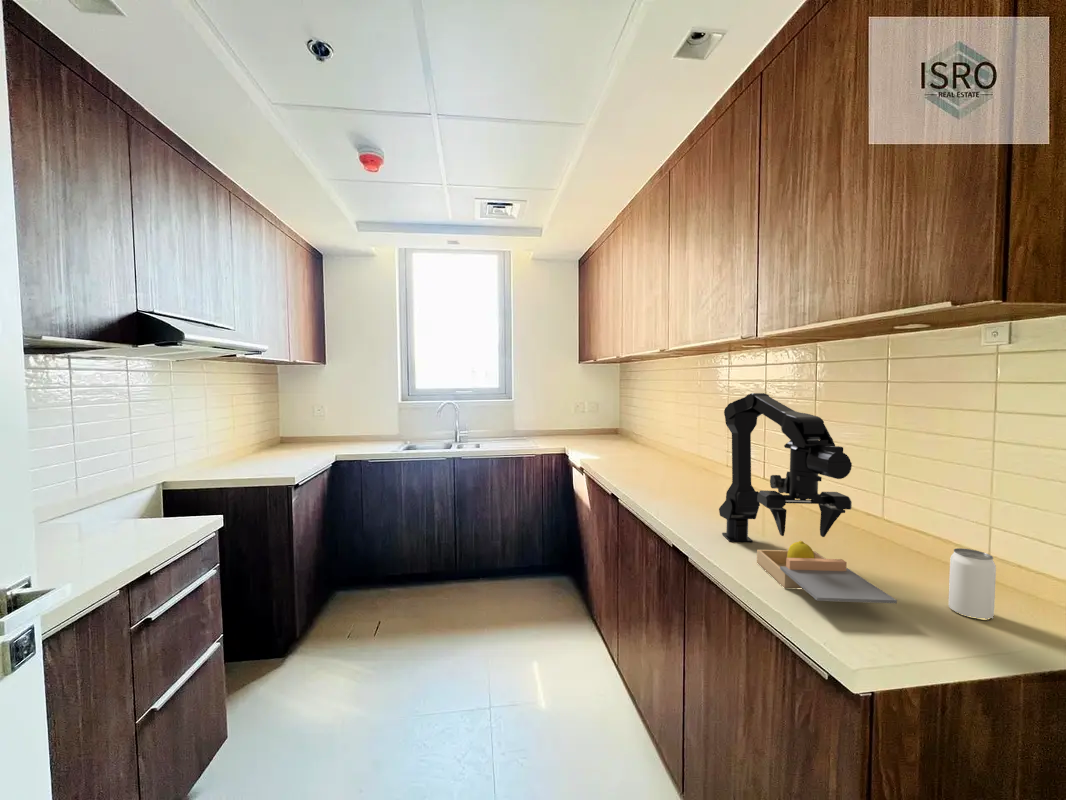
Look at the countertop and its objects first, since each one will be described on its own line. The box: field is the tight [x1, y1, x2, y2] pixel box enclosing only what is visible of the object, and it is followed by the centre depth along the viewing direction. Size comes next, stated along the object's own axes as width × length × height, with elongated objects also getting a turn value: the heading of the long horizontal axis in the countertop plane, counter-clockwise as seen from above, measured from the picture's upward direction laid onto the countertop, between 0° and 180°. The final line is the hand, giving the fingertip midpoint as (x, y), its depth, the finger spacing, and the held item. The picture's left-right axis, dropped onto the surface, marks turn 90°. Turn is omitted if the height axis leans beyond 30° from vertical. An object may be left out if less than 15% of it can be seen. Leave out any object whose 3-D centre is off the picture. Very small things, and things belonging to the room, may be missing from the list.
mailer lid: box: [780, 558, 898, 604], centre depth 93 cm, size 15×15×3 cm
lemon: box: [787, 540, 815, 559], centre depth 106 cm, size 6×6×8 cm
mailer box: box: [756, 549, 827, 590], centre depth 106 cm, size 14×14×4 cm
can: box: [948, 548, 997, 619], centre depth 89 cm, size 6×6×12 cm
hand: (802, 535), depth 105 cm, fingers open, 9 cm apart
